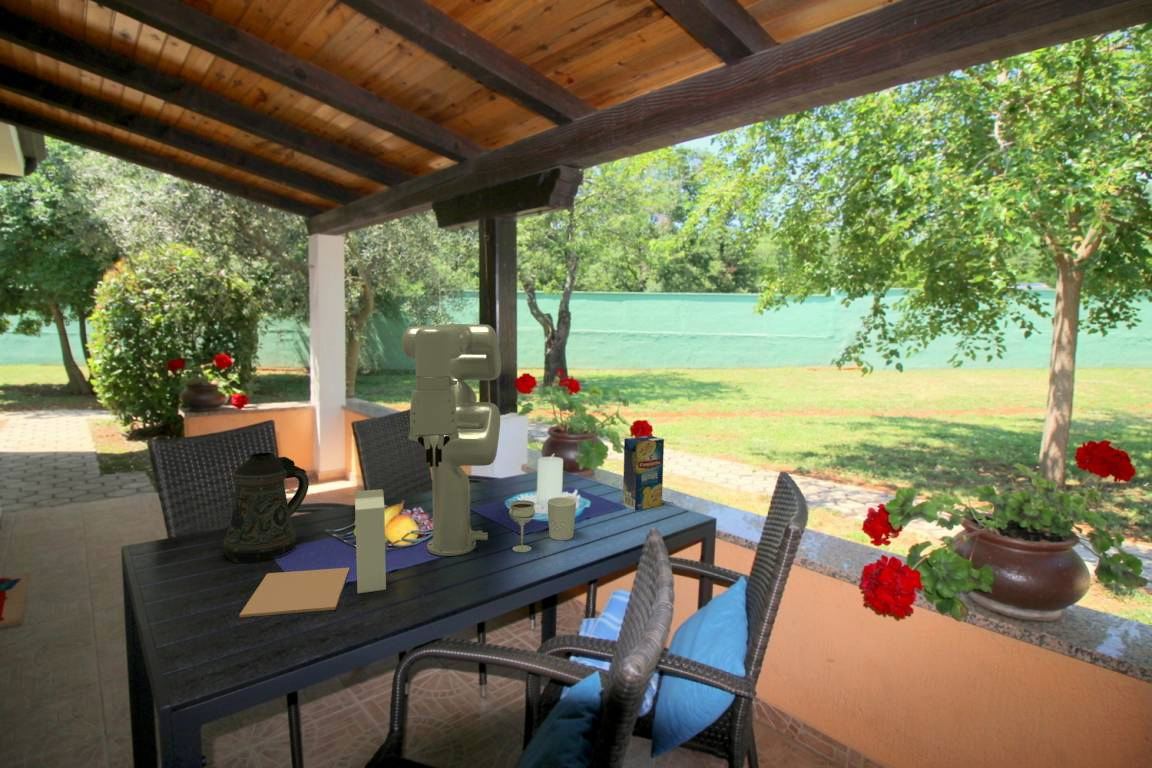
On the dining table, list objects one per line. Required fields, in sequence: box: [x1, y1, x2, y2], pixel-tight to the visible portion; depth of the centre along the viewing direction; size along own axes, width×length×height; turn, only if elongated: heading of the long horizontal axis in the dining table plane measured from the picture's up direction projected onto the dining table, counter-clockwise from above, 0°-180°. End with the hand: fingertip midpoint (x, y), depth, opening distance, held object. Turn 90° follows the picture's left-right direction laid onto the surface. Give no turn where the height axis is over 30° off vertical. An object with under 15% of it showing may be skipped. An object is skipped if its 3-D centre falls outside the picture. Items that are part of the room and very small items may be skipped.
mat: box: [238, 567, 351, 618], centre depth 132 cm, size 18×20×1 cm
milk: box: [354, 488, 387, 594], centre depth 134 cm, size 6×6×22 cm
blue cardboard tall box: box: [622, 435, 665, 511], centre depth 196 cm, size 7×11×22 cm, turn 122°
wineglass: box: [508, 499, 536, 553], centre depth 158 cm, size 7×7×12 cm
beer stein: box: [223, 452, 310, 563], centre depth 155 cm, size 16×19×25 cm
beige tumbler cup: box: [547, 496, 577, 541], centre depth 167 cm, size 8×8×10 cm
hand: (434, 465), depth 135 cm, fingers closed
